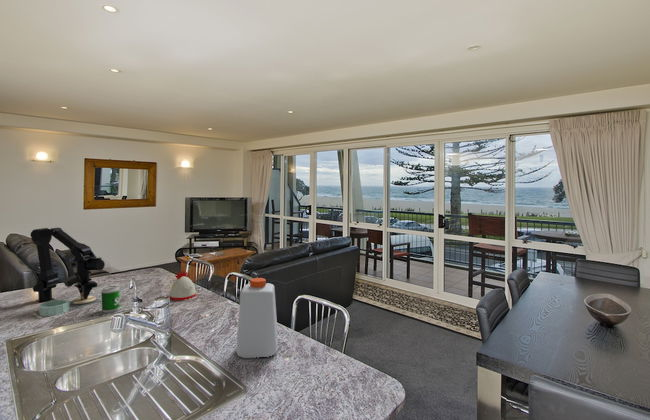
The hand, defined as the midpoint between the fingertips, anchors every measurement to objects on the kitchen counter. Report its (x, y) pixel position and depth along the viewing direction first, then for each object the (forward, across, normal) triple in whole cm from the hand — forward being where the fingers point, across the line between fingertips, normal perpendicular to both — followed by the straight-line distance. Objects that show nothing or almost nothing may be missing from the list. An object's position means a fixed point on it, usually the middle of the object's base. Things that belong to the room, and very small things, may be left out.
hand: (84, 298), depth 177 cm
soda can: (+3, +24, +3) cm, 24 cm away
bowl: (+2, +4, -14) cm, 15 cm away
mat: (+2, 0, 0) cm, 2 cm away
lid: (+1, 0, 0) cm, 1 cm away
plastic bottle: (+2, +113, +18) cm, 114 cm away
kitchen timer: (+3, +33, +37) cm, 50 cm away
